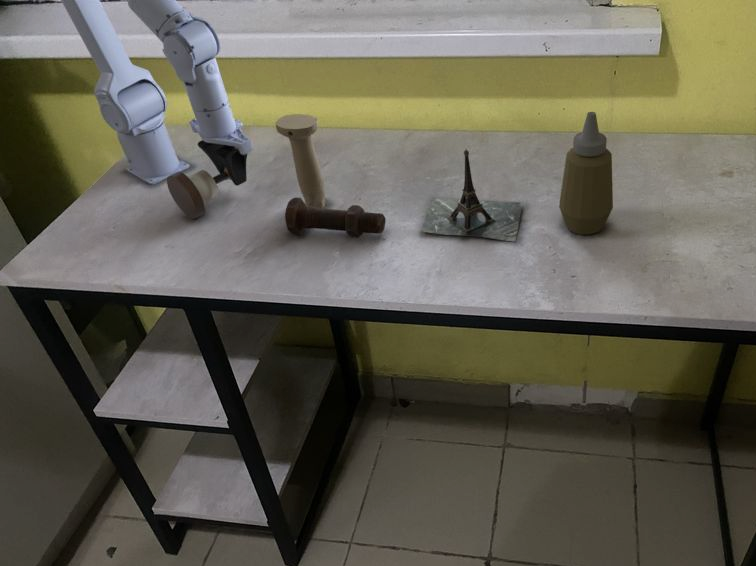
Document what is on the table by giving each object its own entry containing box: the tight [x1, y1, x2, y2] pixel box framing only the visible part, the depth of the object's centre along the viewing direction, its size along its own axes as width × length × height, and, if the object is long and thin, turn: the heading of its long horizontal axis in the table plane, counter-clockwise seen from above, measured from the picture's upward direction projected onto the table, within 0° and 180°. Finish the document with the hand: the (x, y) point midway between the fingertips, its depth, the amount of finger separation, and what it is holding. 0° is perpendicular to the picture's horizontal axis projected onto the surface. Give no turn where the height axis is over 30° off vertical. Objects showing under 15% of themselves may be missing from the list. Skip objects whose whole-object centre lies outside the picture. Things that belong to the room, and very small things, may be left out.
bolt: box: [284, 197, 387, 239], centre depth 110 cm, size 6×5×15 cm
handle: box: [274, 113, 327, 209], centre depth 113 cm, size 5×6×15 cm
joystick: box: [166, 167, 232, 220], centre depth 118 cm, size 11×8×8 cm, turn 139°
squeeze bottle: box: [558, 111, 614, 236], centre depth 103 cm, size 8×8×18 cm
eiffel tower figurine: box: [419, 149, 524, 242], centre depth 107 cm, size 15×10×13 cm
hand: (235, 180), depth 121 cm, fingers closed on joystick, 3 cm apart
